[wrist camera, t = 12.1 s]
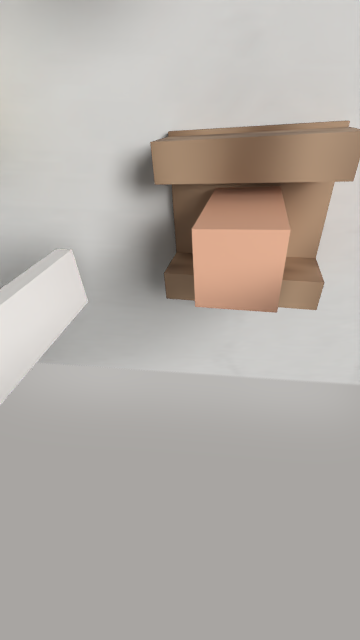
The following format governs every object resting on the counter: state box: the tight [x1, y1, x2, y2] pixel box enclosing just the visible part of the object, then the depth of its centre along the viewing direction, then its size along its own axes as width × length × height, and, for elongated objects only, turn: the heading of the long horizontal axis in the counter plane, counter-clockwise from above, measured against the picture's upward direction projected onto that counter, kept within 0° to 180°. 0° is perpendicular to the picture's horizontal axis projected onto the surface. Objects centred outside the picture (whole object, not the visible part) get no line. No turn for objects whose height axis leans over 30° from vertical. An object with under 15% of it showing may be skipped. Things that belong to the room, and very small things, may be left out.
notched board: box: [150, 121, 360, 310], centre depth 18 cm, size 10×10×4 cm
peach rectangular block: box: [192, 186, 291, 312], centre depth 16 cm, size 4×4×8 cm
